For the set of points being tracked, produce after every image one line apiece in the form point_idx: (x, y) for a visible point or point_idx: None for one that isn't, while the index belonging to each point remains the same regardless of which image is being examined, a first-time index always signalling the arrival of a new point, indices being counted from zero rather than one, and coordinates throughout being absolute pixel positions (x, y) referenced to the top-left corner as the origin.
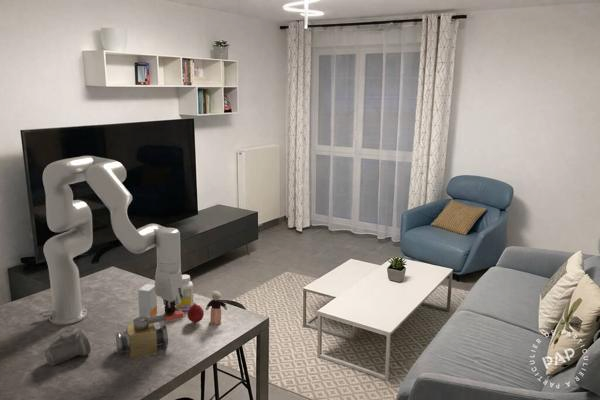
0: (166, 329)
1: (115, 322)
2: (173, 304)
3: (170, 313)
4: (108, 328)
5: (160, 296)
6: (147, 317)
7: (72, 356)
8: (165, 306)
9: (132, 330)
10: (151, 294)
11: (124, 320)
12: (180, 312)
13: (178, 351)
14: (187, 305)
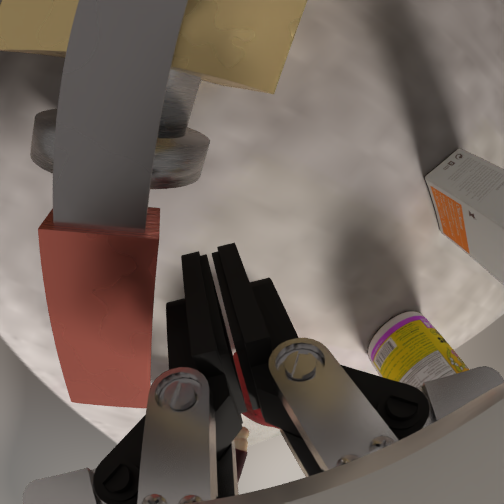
0: (49, 168)
1: (495, 66)
2: (107, 456)
3: (115, 317)
4: (476, 15)
5: (395, 484)
6: (444, 177)
7: None
8: (246, 342)
9: None
10: None
11: (488, 100)
12: (97, 392)
13: (21, 177)
14: (380, 355)
